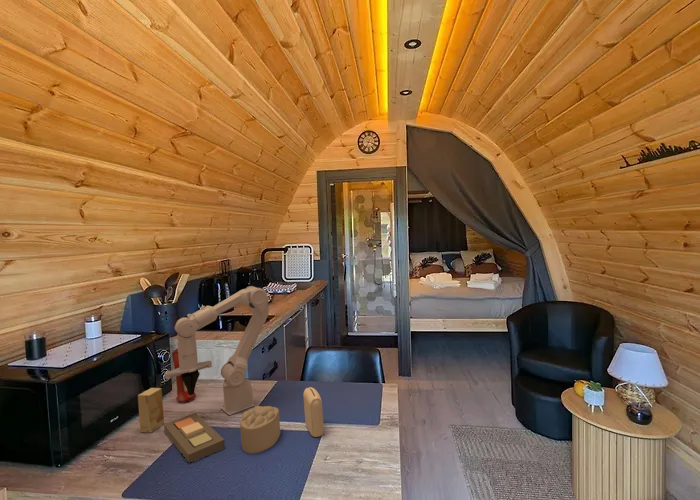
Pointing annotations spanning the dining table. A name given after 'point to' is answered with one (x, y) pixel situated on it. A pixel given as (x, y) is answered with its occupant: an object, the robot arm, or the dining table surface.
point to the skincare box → (150, 409)
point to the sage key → (200, 440)
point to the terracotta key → (184, 423)
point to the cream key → (192, 430)
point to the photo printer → (313, 412)
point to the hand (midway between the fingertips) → (191, 393)
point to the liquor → (180, 381)
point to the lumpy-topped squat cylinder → (259, 428)
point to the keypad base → (184, 444)
